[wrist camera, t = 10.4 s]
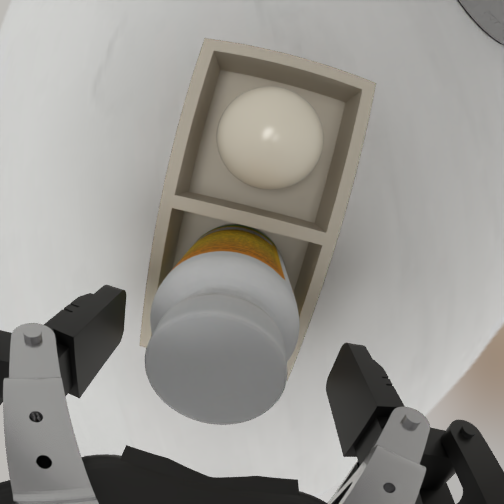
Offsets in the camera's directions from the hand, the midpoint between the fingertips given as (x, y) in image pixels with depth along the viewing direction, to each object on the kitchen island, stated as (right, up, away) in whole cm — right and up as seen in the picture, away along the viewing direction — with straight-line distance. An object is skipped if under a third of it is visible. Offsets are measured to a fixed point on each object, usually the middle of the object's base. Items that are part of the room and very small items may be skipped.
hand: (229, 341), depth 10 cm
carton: (+1, +5, +7) cm, 9 cm away
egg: (+2, +9, +5) cm, 10 cm away
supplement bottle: (0, +2, +7) cm, 7 cm away
